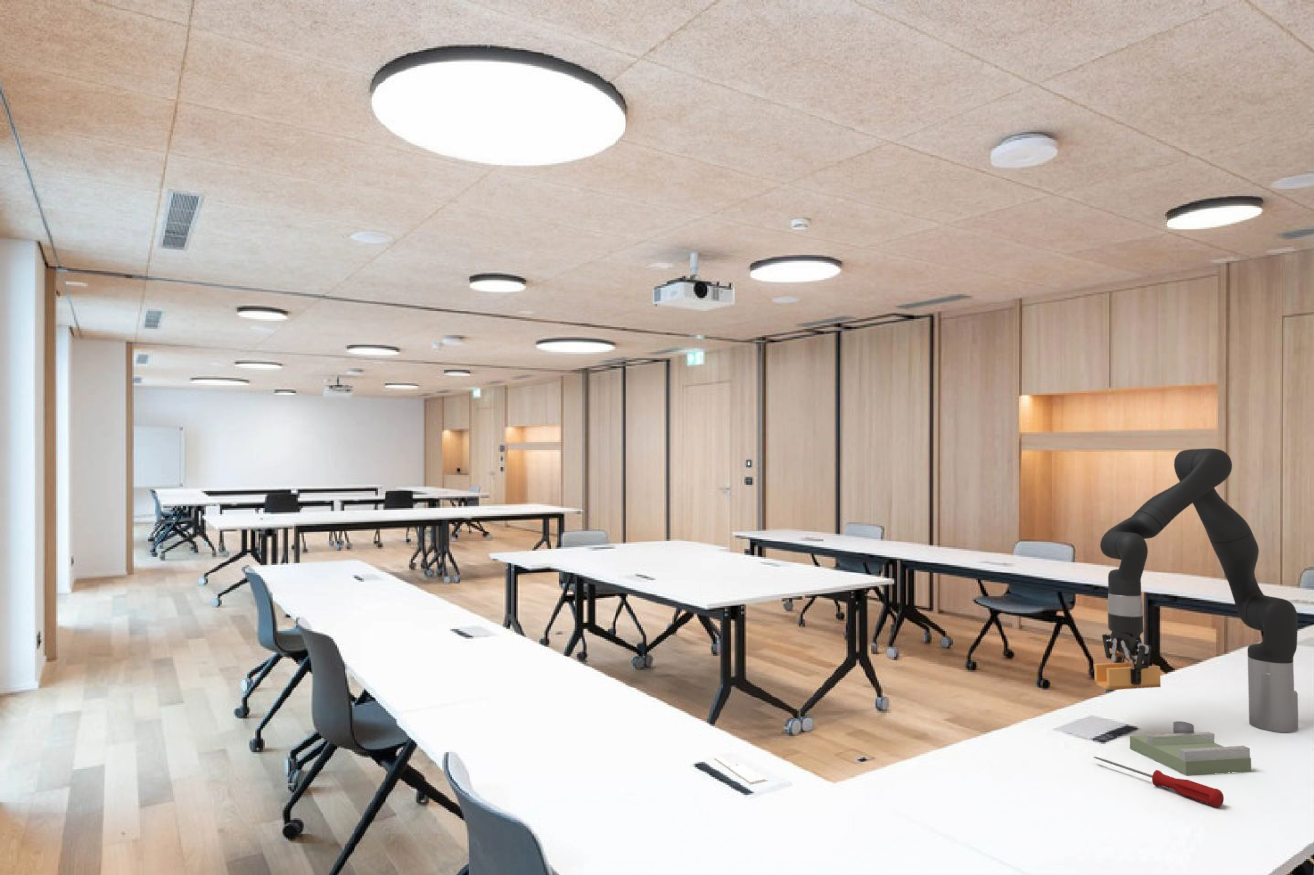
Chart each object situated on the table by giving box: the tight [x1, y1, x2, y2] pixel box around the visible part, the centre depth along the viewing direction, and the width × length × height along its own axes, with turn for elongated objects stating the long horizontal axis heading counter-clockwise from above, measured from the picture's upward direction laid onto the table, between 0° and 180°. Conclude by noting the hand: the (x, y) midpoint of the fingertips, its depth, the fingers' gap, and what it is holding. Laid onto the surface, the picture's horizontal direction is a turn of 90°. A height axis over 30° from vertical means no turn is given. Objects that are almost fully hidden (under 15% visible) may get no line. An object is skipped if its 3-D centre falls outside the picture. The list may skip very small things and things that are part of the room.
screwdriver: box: [1093, 756, 1224, 808], centre depth 160 cm, size 4×25×4 cm, turn 29°
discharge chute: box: [1093, 660, 1161, 691], centre depth 190 cm, size 14×5×5 cm, turn 99°
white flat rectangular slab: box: [713, 755, 769, 785], centre depth 167 cm, size 5×15×1 cm, turn 25°
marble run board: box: [1129, 720, 1252, 777], centre depth 174 cm, size 16×16×6 cm
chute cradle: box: [1146, 731, 1251, 761], centre depth 171 cm, size 16×10×2 cm, turn 98°
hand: (1127, 680), depth 190 cm, fingers closed on discharge chute, 5 cm apart
